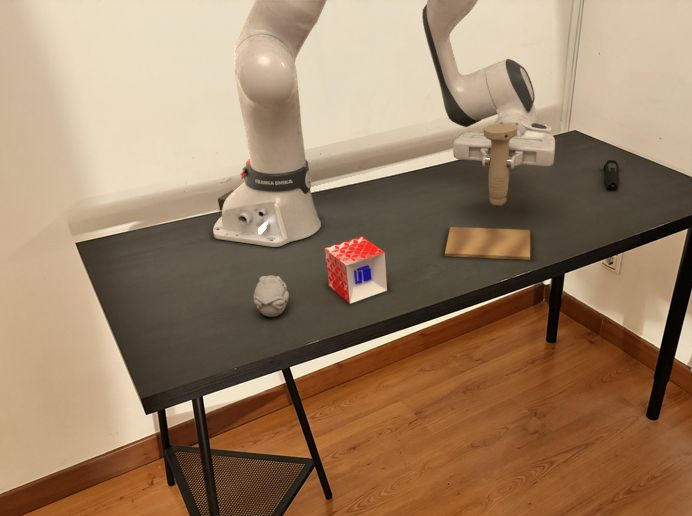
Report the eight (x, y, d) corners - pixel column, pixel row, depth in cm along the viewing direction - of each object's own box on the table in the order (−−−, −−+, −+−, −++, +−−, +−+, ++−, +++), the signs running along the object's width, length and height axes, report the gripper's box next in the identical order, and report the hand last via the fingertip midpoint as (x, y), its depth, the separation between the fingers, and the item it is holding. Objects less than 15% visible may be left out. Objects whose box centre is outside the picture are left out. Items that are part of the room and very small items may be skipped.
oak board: (444, 256, 144) (444, 252, 144) (450, 230, 154) (450, 226, 154) (529, 260, 143) (530, 256, 143) (529, 233, 153) (530, 229, 152)
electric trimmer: (603, 193, 171) (605, 181, 169) (603, 168, 183) (604, 156, 181) (619, 194, 170) (621, 182, 168) (618, 169, 182) (619, 157, 180)
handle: (517, 204, 143) (521, 129, 134) (489, 210, 140) (491, 134, 132) (506, 195, 146) (509, 121, 137) (477, 201, 144) (479, 126, 135)
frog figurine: (295, 303, 130) (290, 269, 126) (286, 325, 124) (281, 290, 120) (261, 302, 130) (255, 268, 126) (251, 324, 124) (245, 289, 120)
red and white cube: (365, 273, 139) (362, 236, 134) (387, 290, 133) (384, 252, 129) (328, 286, 135) (324, 248, 130) (349, 304, 130) (345, 265, 125)
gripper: (460, 120, 149) (445, 143, 138) (559, 127, 145) (551, 151, 134) (460, 150, 152) (445, 174, 141) (557, 157, 149) (549, 183, 138)
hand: (498, 163), depth 138 cm, fingers closed on handle, 3 cm apart
